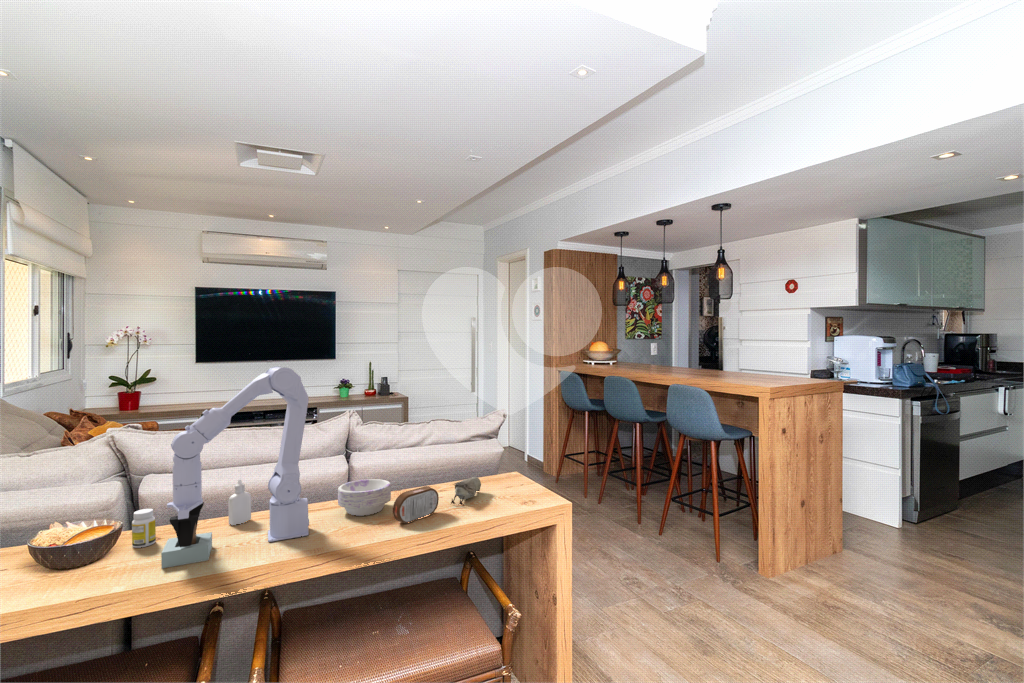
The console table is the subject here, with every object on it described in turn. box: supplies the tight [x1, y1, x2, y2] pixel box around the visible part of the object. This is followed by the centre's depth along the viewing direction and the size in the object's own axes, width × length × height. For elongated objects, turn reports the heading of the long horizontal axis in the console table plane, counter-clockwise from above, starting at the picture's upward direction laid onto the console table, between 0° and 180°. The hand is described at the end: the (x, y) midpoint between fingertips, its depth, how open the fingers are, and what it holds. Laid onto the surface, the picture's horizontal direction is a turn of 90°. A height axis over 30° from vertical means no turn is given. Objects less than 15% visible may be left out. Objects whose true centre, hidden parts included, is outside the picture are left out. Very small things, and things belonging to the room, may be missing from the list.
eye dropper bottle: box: [228, 479, 252, 526], centre depth 140 cm, size 4×6×12 cm
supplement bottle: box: [131, 508, 157, 549], centre depth 125 cm, size 5×5×8 cm
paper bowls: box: [337, 478, 392, 517], centre depth 148 cm, size 15×15×8 cm
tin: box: [392, 485, 440, 524], centre depth 141 cm, size 15×3×8 cm, turn 140°
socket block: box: [160, 531, 213, 569], centre depth 117 cm, size 9×9×4 cm
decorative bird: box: [450, 476, 482, 506], centre depth 158 cm, size 5×16×8 cm, turn 159°
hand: (187, 540), depth 117 cm, fingers open, 7 cm apart
